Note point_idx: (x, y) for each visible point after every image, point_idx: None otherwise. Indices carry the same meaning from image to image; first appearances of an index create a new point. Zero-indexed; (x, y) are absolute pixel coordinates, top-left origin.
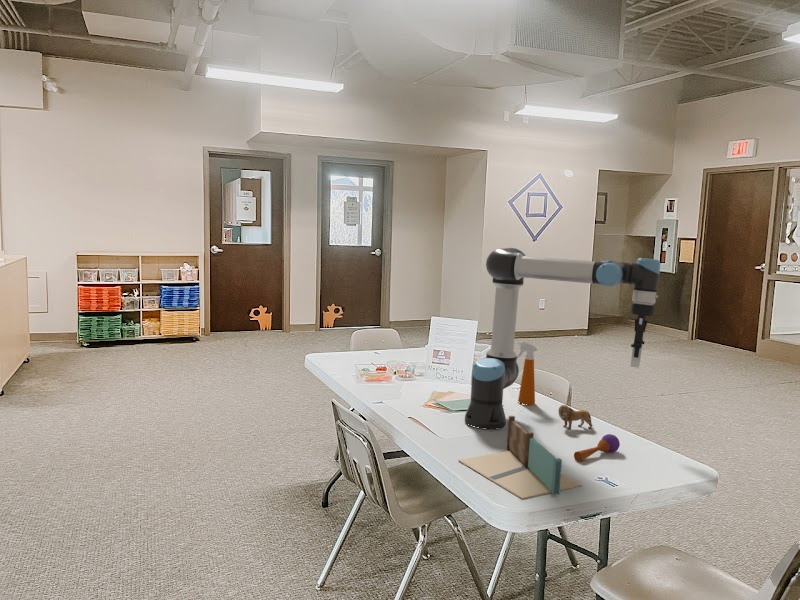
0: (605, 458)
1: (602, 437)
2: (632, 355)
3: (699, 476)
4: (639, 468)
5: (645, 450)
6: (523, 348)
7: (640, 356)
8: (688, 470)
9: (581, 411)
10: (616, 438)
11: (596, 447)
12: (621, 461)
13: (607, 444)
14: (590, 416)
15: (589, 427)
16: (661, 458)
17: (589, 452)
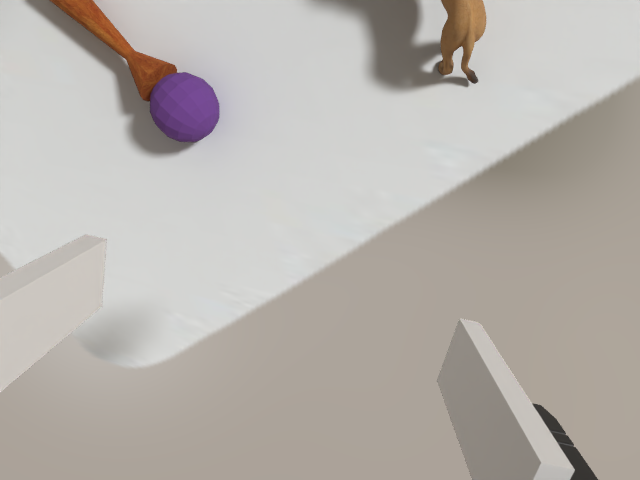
0: (121, 84)
1: (184, 77)
2: (3, 281)
3: (83, 329)
4: (76, 179)
5: (248, 235)
6: None
7: (453, 420)
8: (117, 315)
9: (459, 4)
10: (165, 127)
11: (119, 47)
12: (114, 134)
13: (138, 90)
14: (465, 59)
15: (441, 64)
16: (189, 266)
17: (72, 17)
